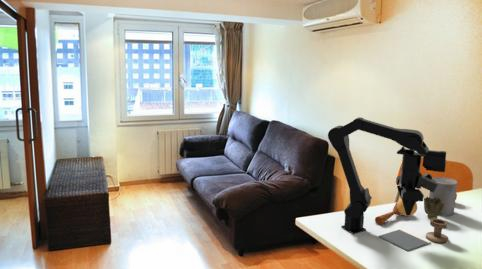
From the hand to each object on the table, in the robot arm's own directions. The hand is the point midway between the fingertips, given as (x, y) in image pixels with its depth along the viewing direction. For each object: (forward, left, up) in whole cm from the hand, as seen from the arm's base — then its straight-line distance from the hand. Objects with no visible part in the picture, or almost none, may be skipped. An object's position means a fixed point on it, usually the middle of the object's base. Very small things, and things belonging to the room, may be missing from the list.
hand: (406, 211), depth 132 cm
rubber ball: (0, 0, +2) cm, 2 cm away
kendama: (+13, +15, -11) cm, 22 cm away
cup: (+26, +7, -11) cm, 29 cm away
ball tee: (+11, -5, -10) cm, 16 cm away
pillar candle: (+36, +10, -11) cm, 39 cm away
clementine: (+49, +15, -11) cm, 52 cm away
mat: (0, 0, -10) cm, 11 cm away
